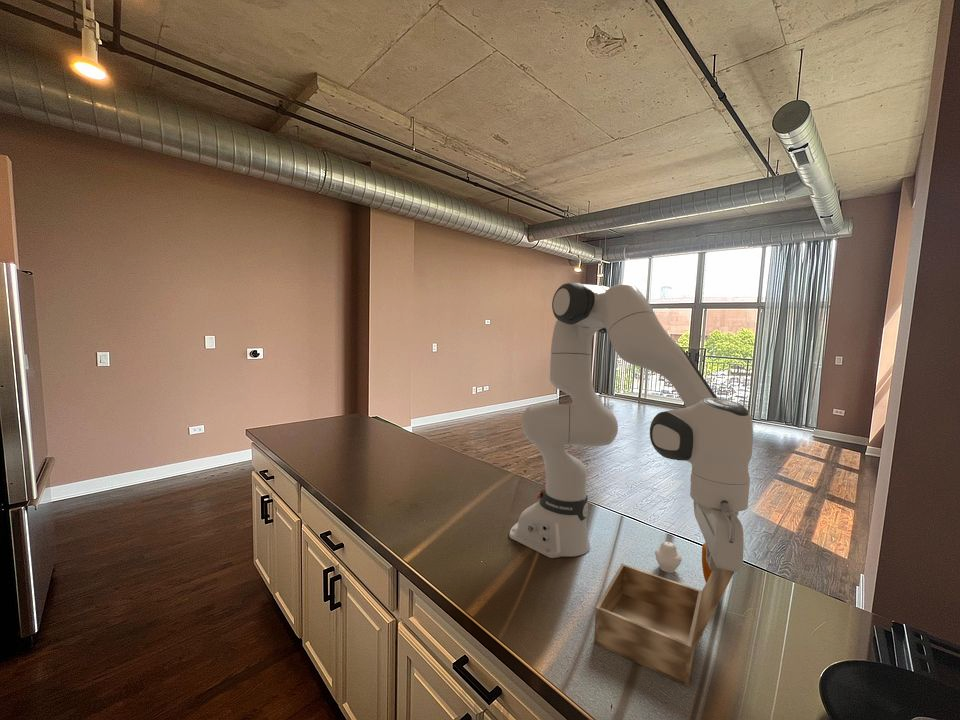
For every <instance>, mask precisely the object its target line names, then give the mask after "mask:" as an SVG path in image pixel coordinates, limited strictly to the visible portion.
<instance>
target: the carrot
mask: <svg viewBox="0 0 960 720" xmlns="http://www.w3.org/2000/svg"><path fill="white" fill-rule="evenodd" d="M701 565H702V566H701V567H702V573H703V577H704V581H705V583H706V582H707V581H708V579H709V577H710V575H711V573H712V571H711V570H710V568H709V565H708V563H707V561H706V544H705V542H704V543H702V547H701Z"/></svg>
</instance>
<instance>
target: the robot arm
mask: <svg viewBox="0 0 960 720" xmlns="http://www.w3.org/2000/svg"><path fill="white" fill-rule="evenodd" d="M551 308H552V314H553V315H554V317H555V318H556V321H555V324H554V329H553V332H552V338H551V344H550V346H551V347H550V362H549V363H550V365H549V380H550V383H551V384H552V385H553V387H555V388H556V389H557V390H559V391H561V392H562V393H564V394H566V395H568V396H569V397H570V398H571V402H572V403H571V404H570V403H569V404H559V403H558V404H557V403H540V404H539V403H538V404H533V405H532V404H531V405H529V406H528V407H526V408H525V410H524V412H523V414H522V416H521V420H520V421H521V422H520V426H521V430H522V433H523V434H524V436H525V437H526V438H527V440H528V441H530V442H531V443H532V444H533V445H534V446H535V447H536V448H537V450H538V452H539V453H540V455H541V457H542V459H543V462H544V467H545V468H544V469H545V486H544V487H543V489H542V490H540V491H539V493H537V495H536V496H537V497H536V499H539V501H537V502H534V504H531V505H530V506H528V507H527V508H525V509H524V510H523V511H522V512H521V513H520V516H519V518H518V521H517V522H516V523H515V524H514V525H513V526H512V527H511V528H510V530H509V535H508V536H509V538H510V539H511V540H514V541H516V542H518V543H520V544H522V545H524V546H526V547H527V548H529V549H531V550H534V551H535V552H537V553H540V554H541V555H543V556H545V557H548V558H550V559H556V558H561V557H577V556H582V555H585V554H586V553H588V552H589V551H590V549H591V543H590V539H589V536H588V528H587V527H588V525H587V516H588V511H589V510H588V509H589V504H588V500H589V499H588V497H589V496H588V495H587V486H588V483H587V482H588V469H587V467H586V465H585V464H584V462H582V461H581V460H580V459H578V458H577V457H575V456H573V455H571V454H570V453H568V451H566V449H565V447H566V446H574V447H576V446H577V447H588V448H589V447H590V448H595V447H603V446H610V445H612V443H613V442H614V441H615V439H616V437H617V435H618V431H619V425H618V420H617V418H616V416H615V414H614V412H612V410H610V409H609V408H608V407H606V406H605V404H603V403H602V401H601V400H600V398H599V397H598V395H597V393H596V391H595V389H594V385H593V378H592V377H593V376H592V350H593V349H592V344H593V343H592V342H593V337H594V336H595V334H596V333H597V332H600V334H603V335H604V334H606V333H607V335H608V338H609V341H610V343H611V346H612V348H613V349H614V351H615V352H616V354H617V355H618V356H619V358H620V359H621V360H623V361H624V362H625V363H628V364H630V365H633V366H635V367H640V368H643V369H646V370H649V371H651V372H654V373H655V374H658V375H660V376H662V377H663V378H664V379H666V380H667V381H668V382H669V383H670V384H671V385H672V386H673V388H674V390H675V391H676V393H677V395H678V396H679V397H680V399H681V401H682V402H683V404H684V405H685V407H682V408H681V407H680V408H676V409H669V410H664V411H660V412H658V413H657V414H656V415H655V416H654V417H653V419H652V420H651V423H650V425H649V440H650V442H651V445H652V447H653V449H654V450H655V451H656V453H658V454H659V455H661V457H663V458H665V459H669V460H674V461H683V462H684V461H685V462H688V463H690V464H691V474H690V486H689V487H690V490H689V496H690V498H691V499H692V500H693V513H694V518H695V520H696V522H697V524H698V527H699V529H700V532H701V534H702V537H703V538H704V541H705V542H704V543H705V544H706V561H707V563H708V565H709V568H710V570H711V571H715V572H720V571H721V569H724V570H729V571H735V572H734V573H739V572H741V571H742V570H743V565H744V550H745V549H744V544H745V543H744V542H745V541H744V535H745V534H744V528H743V524H742V522H741V520H740V519H739V518H738V516H739V512H743V511H745V510H748V508H749V496H750V487H751V486H750V484H751V477H750V474H749V466H750V465H749V464H750V461H751V459H752V456H753V443H754V442H753V441H754V440H753V439H754V435H753V434H754V430H753V429H754V428H753V427H754V426H753V421H752V417H751V413H750V412H749V410H748V409H747V408H746V407H745V406H744V405H742V404H740V403H737V402H735V401H732V400H728V399H723V398H719V397H718V396H717V395H716V394H715V392H714V391H713V390H712V388H711V386H710V384H708V382H707V381H706V378H704V376H703V375H702V373H701V371H700V370H699V369H698V367H697V366H696V364H695V363H694V361H693V360H692V359H691V357H690V356H689V355H688V353H687V352H686V351H685V350H684V349H683V347H681V346H680V345H679V344H677V342H676V341H675V340H674V339H673V338H672V337H671V336H670V335H669V333H668V332H667V330H666V329H665V328H664V327H663V325H662V324H661V322H660V321H659V319H658V317H657V315H656V314H655V311H654V310H653V307H652V306H651V304H650V303H649V302H648V300H647V299H646V297H645V296H644V294H643V293H642V292H641V291H640V290H639V288H637V287H636V286H635V285H633V284H631V283H618V284H617V283H616V284H615V285H612V286H611V287H609V286H605V285H601V284H590V283H589V284H588V283H580V282H567V283H563V284H561V285H560V286H559V287H558V288H557V289H556V291H555V293H554V295H553V297H552V302H551Z"/></svg>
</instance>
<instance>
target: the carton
mask: <svg viewBox="0 0 960 720" xmlns="http://www.w3.org/2000/svg"><path fill="white" fill-rule="evenodd" d="M702 591H703V590H701V589H698V588H696V587H691V586H690V585H686V584H683V583H681V582H678V581H675V580H671V579H668V578H665V577H663V576H659V575H656V574H653V573H650V572H649V571H648V572H647V571H644V570H641V569H639V568H636V567H632V566H630V565H627V564H624V563H621V564H620V566H619V568H618V569H617V571H616V573H615V575H614V576H613V578H612V580H611V581H610V583H609V584H608V586H607V587H606V589H605V591H604V593H603V595H601V598H600V599H599V601H598V603H597V605H595V613H594V616H595V617H594V634H593V643H594V644H595V645H597V646H599V647H602V648H604V649H606V650H608V651H611V652H612V653H615V654H616V655H619V656H621V657H623V658H626V659H627V660H630V661H632V662H634V663H636V664H639V665H641V666H643V667H645V668H647V669H650V670H652V671H653V672H655V673H658V674H659V675H662V676H664V677H666V678H668V679H671V680H673V681H675V682H676V683H679V684H681V685H683V686H685V687H688V688H689V686H690V683H691V677H692V672H693V666H694V661H695V656H696V651H697V647H698V646H697V645H698V644H697V645H696V647H694V646H693V645H692V640H693V635H694V630H695V625H696V620H697V615H698V610H699V606H700V601H701V596H702Z"/></svg>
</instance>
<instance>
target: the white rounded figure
mask: <svg viewBox="0 0 960 720" xmlns="http://www.w3.org/2000/svg"><path fill="white" fill-rule="evenodd" d="M654 556H655V560H656V561H657V564H658V566H659V568H660V570H661V571H663V572H664V573H667V574H668V573H669V574H671V573H674V572H676V570H677V569H678V568H679V566H680V565H681V562H682V560H683V559H682V555H681V554H680V552H678V550H677V546H676V545H675V544H674V543H672V542H670V541H663V542H662V543H661V544H660V546H659V547H657V548H656V549H655V551H654Z"/></svg>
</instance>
